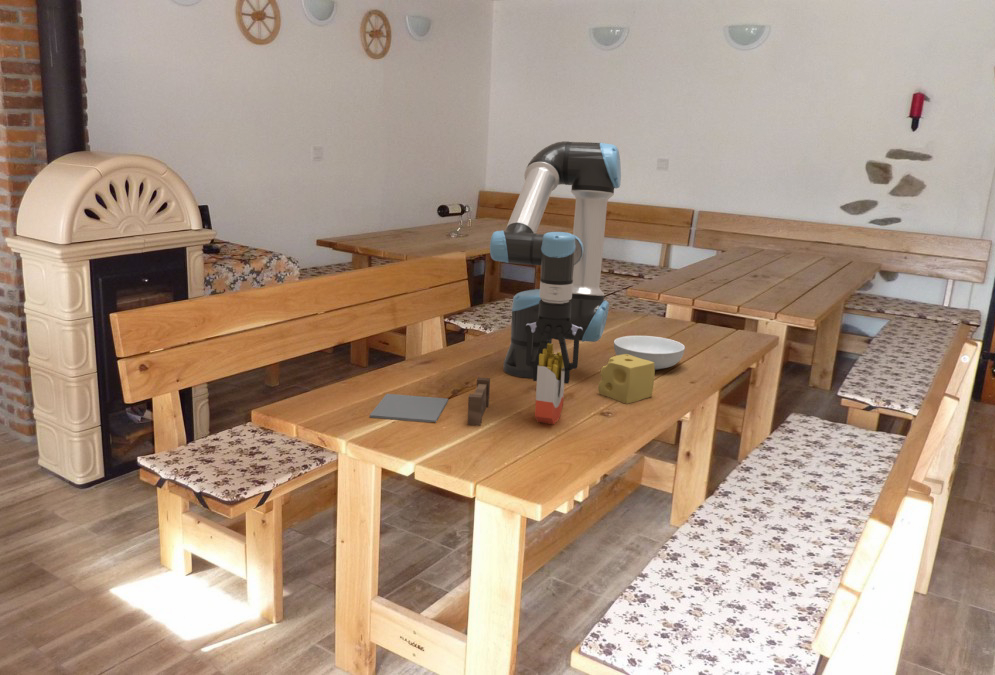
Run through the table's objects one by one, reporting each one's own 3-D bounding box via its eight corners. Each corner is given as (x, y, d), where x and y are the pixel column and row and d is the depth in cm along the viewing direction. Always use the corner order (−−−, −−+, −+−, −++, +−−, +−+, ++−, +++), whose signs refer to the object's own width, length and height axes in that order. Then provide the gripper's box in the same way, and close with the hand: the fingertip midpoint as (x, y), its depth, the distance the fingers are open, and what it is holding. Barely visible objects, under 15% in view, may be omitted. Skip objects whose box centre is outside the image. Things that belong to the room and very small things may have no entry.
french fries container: (564, 413, 204) (568, 343, 200) (552, 428, 194) (557, 354, 190) (546, 411, 206) (550, 341, 201) (534, 425, 196) (537, 352, 191)
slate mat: (386, 395, 212) (386, 393, 212) (448, 400, 210) (448, 398, 210) (369, 417, 197) (369, 415, 197) (435, 422, 195) (435, 420, 195)
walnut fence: (477, 403, 209) (478, 377, 207) (488, 404, 209) (490, 378, 207) (467, 424, 195) (468, 396, 193) (480, 425, 194) (481, 397, 193)
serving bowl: (689, 362, 253) (691, 340, 251) (673, 380, 234) (675, 357, 233) (623, 352, 261) (625, 331, 259) (602, 369, 243) (604, 346, 241)
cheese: (597, 394, 220) (600, 358, 218) (624, 387, 227) (627, 352, 224) (627, 405, 213) (630, 368, 210) (654, 397, 219) (657, 361, 217)
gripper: (515, 300, 190) (511, 397, 196) (593, 305, 188) (587, 402, 194) (518, 293, 197) (514, 386, 203) (594, 298, 195) (588, 392, 201)
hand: (550, 394), depth 198 cm, fingers open, 5 cm apart
